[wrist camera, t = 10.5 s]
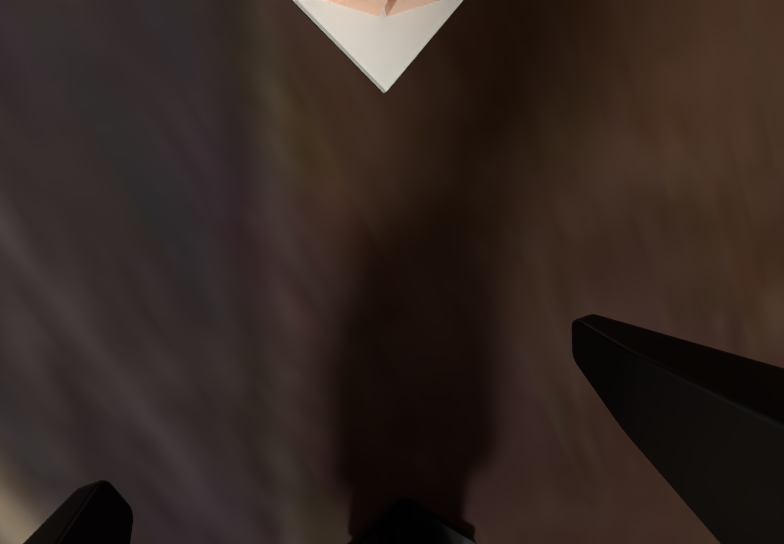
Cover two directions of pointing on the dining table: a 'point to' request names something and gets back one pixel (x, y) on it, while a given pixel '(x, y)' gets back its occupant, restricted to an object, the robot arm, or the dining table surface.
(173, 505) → the dining table surface
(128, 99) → the dining table surface
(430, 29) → the ring
